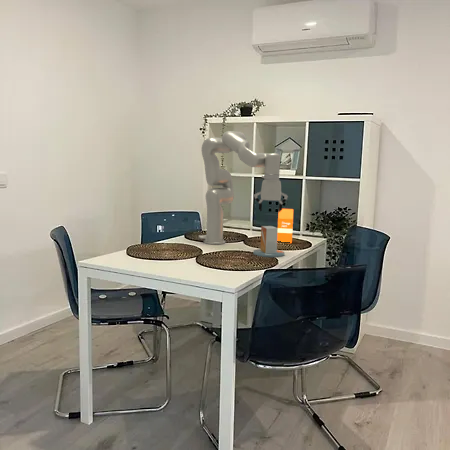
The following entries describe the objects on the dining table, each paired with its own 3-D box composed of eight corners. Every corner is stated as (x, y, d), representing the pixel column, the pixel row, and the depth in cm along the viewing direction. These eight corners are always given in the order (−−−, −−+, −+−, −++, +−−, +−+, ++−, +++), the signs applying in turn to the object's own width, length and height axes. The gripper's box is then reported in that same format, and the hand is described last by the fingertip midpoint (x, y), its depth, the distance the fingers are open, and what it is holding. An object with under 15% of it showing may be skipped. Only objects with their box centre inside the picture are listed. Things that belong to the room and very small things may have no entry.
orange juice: (291, 243, 281) (293, 209, 278) (276, 242, 282) (278, 209, 279) (292, 241, 288) (293, 208, 286) (277, 240, 290) (278, 207, 287)
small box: (260, 250, 248) (261, 225, 247) (271, 250, 250) (272, 225, 248) (265, 253, 241) (266, 228, 239) (277, 253, 242) (278, 228, 241)
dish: (252, 256, 238) (253, 254, 238) (253, 250, 254) (253, 248, 254) (284, 258, 237) (285, 255, 237) (283, 251, 253) (283, 249, 252)
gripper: (254, 177, 237) (253, 211, 240) (289, 178, 236) (287, 213, 238) (254, 177, 245) (253, 210, 247) (288, 178, 243) (286, 211, 246)
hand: (270, 211), depth 243 cm, fingers open, 9 cm apart
